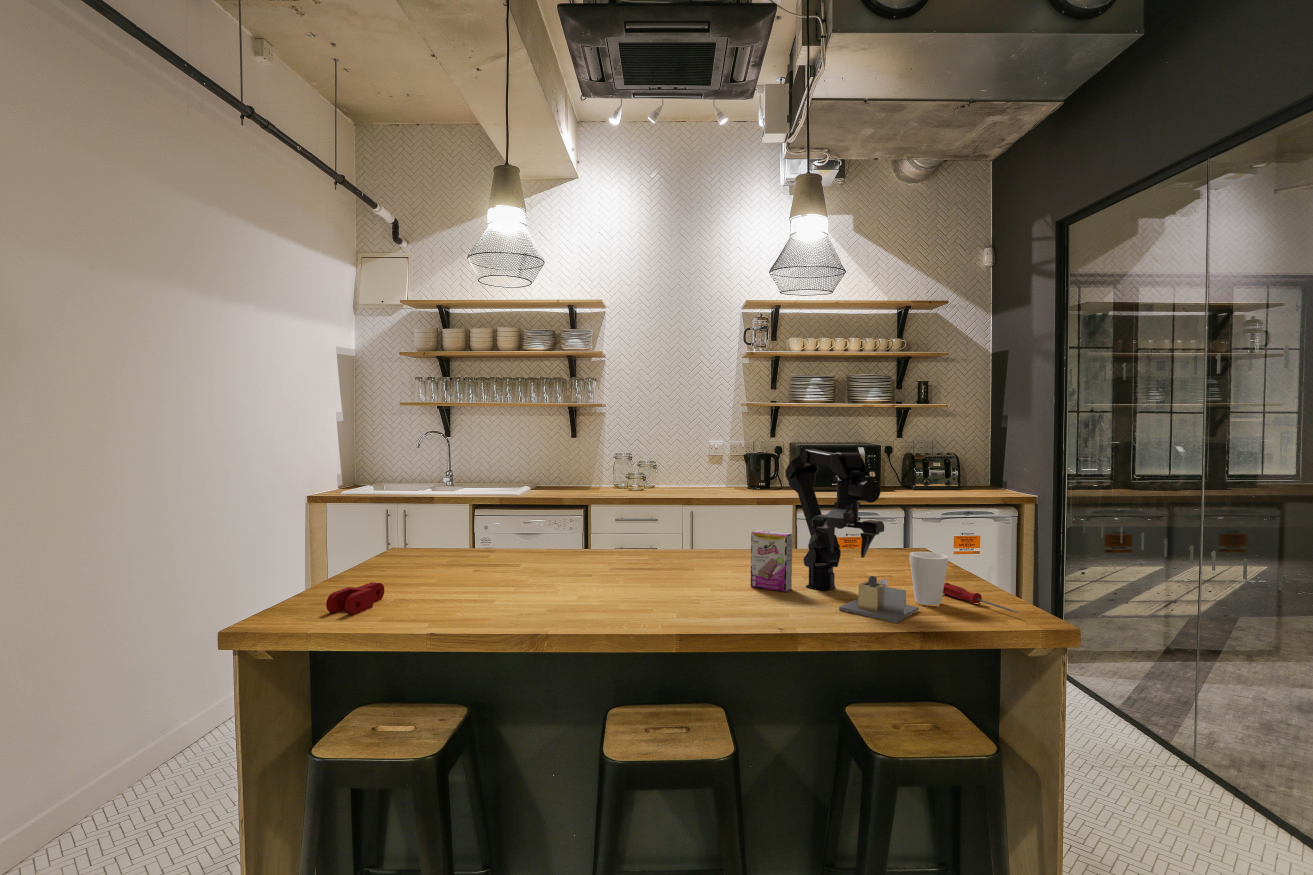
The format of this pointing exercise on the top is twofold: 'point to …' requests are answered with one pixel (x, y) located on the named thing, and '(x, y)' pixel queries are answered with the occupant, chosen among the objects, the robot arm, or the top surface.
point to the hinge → (881, 597)
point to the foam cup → (928, 576)
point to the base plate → (880, 614)
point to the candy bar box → (771, 560)
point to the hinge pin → (872, 581)
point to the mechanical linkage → (355, 598)
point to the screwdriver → (967, 595)
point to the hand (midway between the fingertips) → (846, 555)
